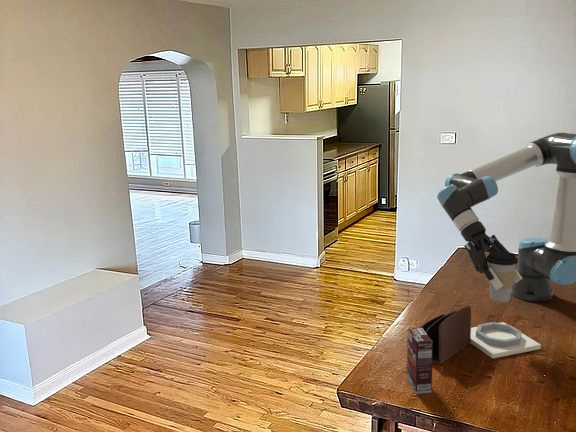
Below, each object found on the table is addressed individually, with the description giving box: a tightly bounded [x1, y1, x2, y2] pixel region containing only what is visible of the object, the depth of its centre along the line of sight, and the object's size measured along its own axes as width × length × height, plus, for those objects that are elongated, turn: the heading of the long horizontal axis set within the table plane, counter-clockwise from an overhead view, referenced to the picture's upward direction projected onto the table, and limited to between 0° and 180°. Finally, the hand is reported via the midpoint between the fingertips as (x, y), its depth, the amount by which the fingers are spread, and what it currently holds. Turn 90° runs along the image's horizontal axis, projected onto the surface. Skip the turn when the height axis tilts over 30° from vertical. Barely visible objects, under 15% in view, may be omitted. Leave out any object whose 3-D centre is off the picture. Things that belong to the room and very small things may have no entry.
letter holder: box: [419, 305, 472, 366], centre depth 169 cm, size 10×20×14 cm, turn 135°
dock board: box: [469, 321, 542, 359], centre depth 174 cm, size 18×18×4 cm
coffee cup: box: [486, 251, 518, 303], centre depth 170 cm, size 9×9×15 cm
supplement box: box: [406, 327, 433, 395], centre depth 149 cm, size 9×5×16 cm, turn 5°
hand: (509, 284), depth 167 cm, fingers closed on coffee cup, 9 cm apart
